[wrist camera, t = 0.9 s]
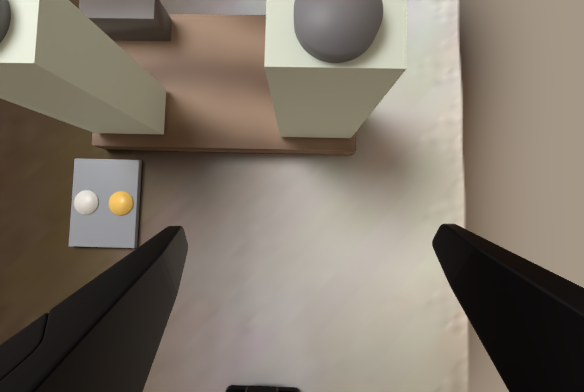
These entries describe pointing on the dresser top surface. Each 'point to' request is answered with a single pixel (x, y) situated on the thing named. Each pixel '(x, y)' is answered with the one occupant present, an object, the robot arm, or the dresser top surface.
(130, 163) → the card
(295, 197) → the dresser top surface
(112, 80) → the button
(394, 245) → the dresser top surface
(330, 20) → the button
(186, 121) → the wooden base plate
